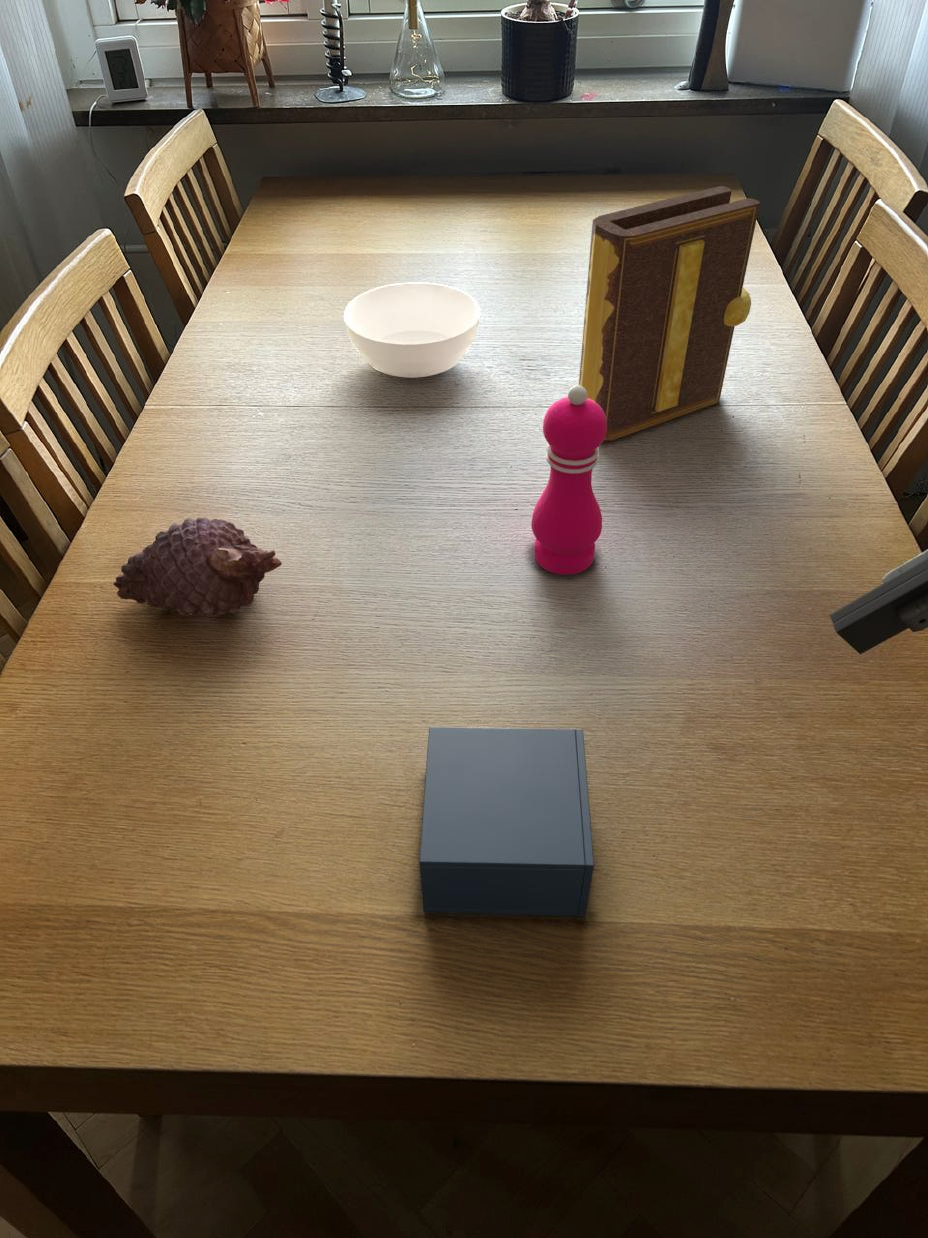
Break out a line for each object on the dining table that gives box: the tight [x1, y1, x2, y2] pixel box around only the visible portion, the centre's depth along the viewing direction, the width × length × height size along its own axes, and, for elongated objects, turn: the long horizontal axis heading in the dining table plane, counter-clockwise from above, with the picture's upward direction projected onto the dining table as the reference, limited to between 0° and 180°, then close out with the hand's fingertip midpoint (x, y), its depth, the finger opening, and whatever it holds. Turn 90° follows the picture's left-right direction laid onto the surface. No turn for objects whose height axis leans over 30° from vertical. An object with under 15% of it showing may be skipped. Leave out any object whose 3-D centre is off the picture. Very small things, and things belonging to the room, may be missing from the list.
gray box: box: [418, 726, 595, 917], centre depth 70 cm, size 7×12×12 cm
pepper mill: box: [530, 384, 607, 576], centre depth 91 cm, size 7×7×20 cm
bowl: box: [343, 282, 481, 378], centre depth 126 cm, size 18×18×7 cm
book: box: [578, 185, 761, 443], centre depth 110 cm, size 22×8×25 cm, turn 120°
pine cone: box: [112, 517, 283, 619], centre depth 91 cm, size 18×10×10 cm
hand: (845, 634), depth 55 cm, fingers closed
